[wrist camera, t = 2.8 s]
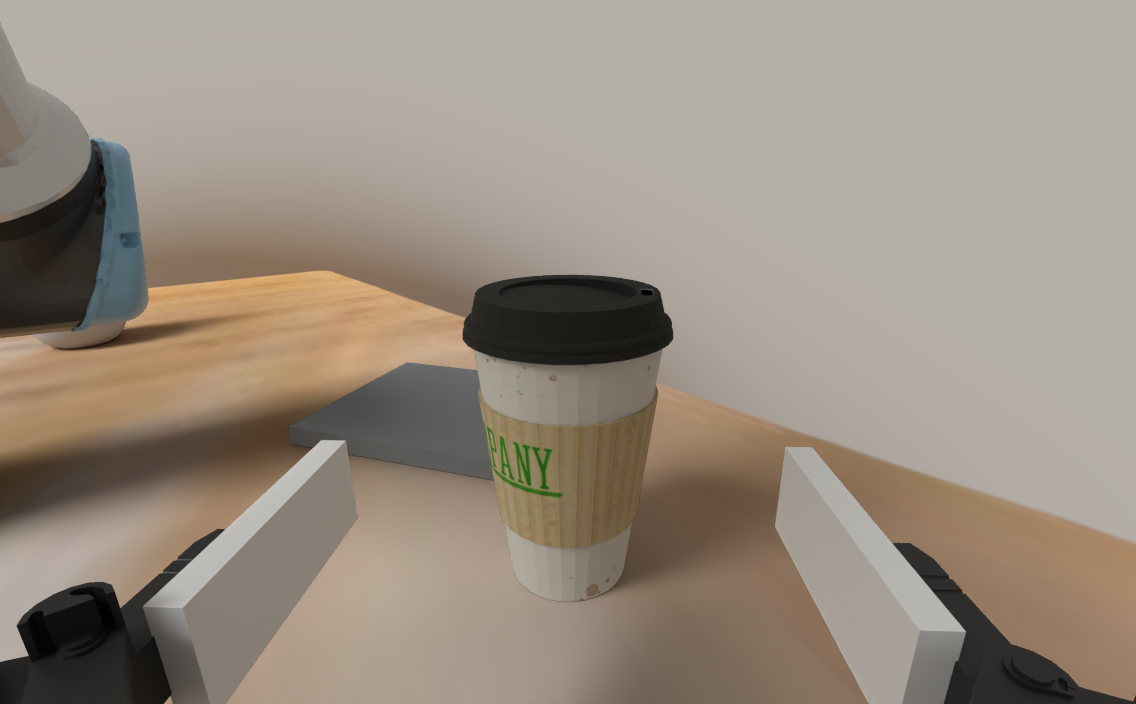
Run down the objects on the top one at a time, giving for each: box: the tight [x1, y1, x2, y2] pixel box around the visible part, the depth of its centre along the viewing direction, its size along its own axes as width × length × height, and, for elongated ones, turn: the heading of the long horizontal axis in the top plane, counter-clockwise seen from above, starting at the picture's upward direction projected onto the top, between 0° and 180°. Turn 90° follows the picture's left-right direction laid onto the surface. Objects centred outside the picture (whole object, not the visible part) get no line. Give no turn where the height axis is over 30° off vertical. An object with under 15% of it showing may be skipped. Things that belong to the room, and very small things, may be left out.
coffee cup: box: [463, 275, 673, 602], centre depth 27 cm, size 10×10×15 cm
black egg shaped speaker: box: [33, 321, 126, 349], centre depth 65 cm, size 10×10×15 cm
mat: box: [288, 362, 494, 480], centre depth 46 cm, size 20×16×2 cm
